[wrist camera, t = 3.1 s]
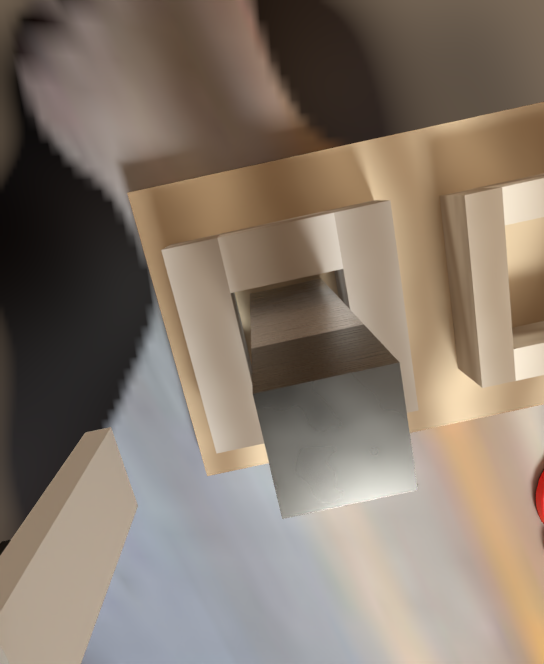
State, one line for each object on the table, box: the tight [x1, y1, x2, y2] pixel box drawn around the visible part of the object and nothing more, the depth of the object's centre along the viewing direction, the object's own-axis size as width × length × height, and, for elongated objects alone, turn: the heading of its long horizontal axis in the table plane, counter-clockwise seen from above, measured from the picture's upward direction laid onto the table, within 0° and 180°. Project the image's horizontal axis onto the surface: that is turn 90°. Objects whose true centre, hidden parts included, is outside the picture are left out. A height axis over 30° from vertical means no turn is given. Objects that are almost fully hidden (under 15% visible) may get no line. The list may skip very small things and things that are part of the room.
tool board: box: [128, 102, 544, 476], centre depth 26 cm, size 28×17×4 cm, turn 102°
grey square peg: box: [250, 279, 418, 519], centre depth 20 cm, size 4×4×14 cm
